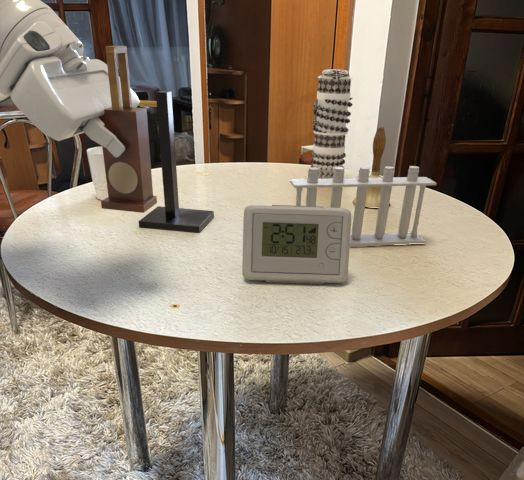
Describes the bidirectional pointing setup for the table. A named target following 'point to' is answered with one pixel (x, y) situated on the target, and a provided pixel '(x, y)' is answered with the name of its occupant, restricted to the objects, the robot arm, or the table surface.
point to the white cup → (98, 171)
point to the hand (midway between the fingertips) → (130, 149)
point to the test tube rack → (362, 184)
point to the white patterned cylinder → (331, 121)
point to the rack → (171, 178)
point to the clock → (134, 135)
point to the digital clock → (296, 244)
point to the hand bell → (376, 169)
